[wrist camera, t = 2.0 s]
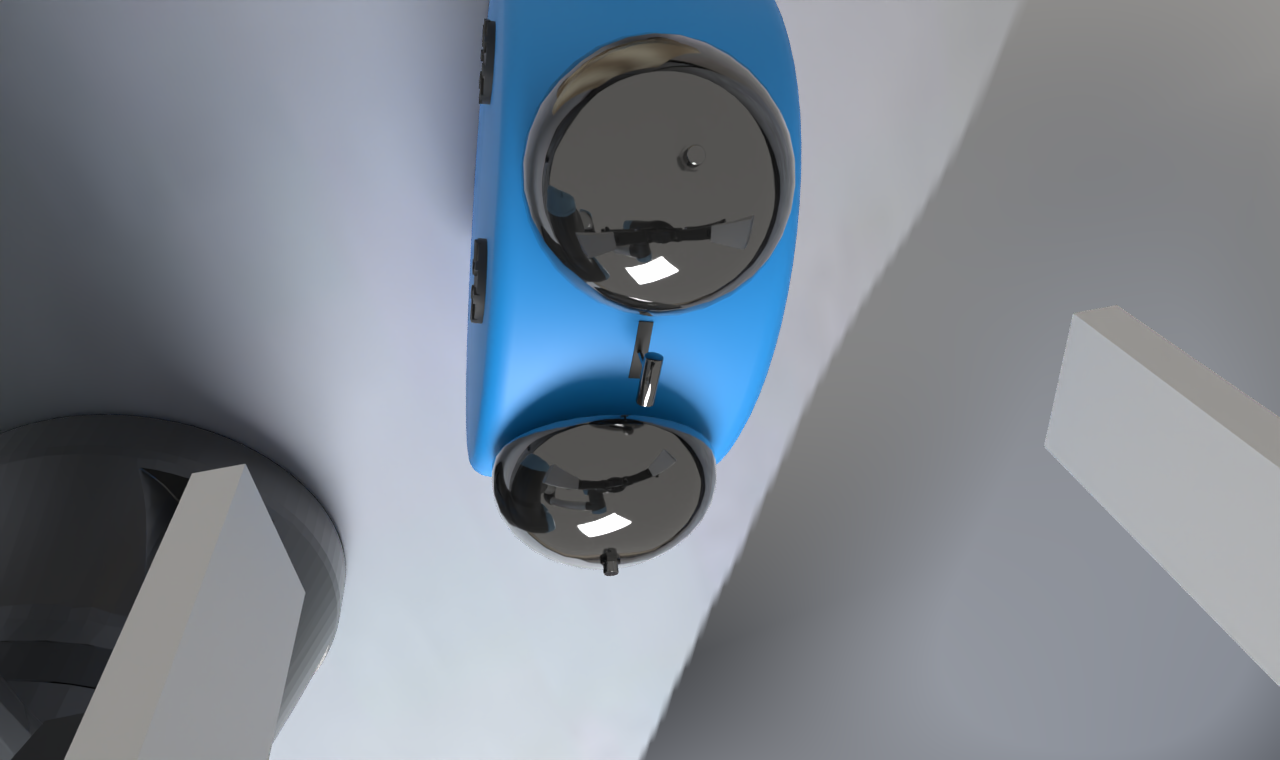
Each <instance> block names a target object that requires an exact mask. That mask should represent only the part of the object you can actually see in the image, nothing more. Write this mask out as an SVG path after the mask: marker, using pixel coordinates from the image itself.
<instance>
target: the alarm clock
mask: <svg viewBox="0 0 1280 760" xmlns="http://www.w3.org/2000/svg"><path fill="white" fill-rule="evenodd" d="M482 47H483V50H481V61H483V63H482V71H481V72H480V80H479V89H480V93H479V104H480V111H479V125H478V139H477V154H476V169H475V185H474V202H473V220H472V239H471V259H470V281H469V305H468V333H467V371H466V431H467V448H468V455H469V461H470V464H471V465H472V467H473V468H474V470H475V471H477V472H478V473H480V474H481V475H485V476H489V477H492V488H493V496H494V502H495V505H496V507H497V509H498V511H499V514H500V516H501V518H502V520H503V521H504V523H505V525H506V526H507V527H508V528H509V530H510V531H511V532H512V533H513V535H514V536H515V537H516V538H517V539H519V540H520V541H521V542H522V543H524V544H525V545H526V546H528V547H529V548H530V549H531V550H533V551H534V552H535V553H538V554H540V555H542V556H544V557H546V558H548V559H551V560H553V561H555V562H557V563H560V564H564V565H568V566H574V567H579V568H584V569H595V570H603V571H604V575H606V576H614V575H617V574H618V573H619V571H618V568H625V567H629V566H634V565H637V564H640V563H643V562H646V561H649V560H652V559H654V558H657V557H659V556H661V555H663V554H665V553H666V552H668V551H669V550H671V549H672V548H674V547H676V546H677V545H679V544H680V543H682V542H683V541H684V540H685V539H686V538H687V537H688V536H689V535H690V534H691V533H692V532H693V531H694V530H695V529H696V528H697V527H698V526H699V524H700V523H701V521H702V519H703V518H704V516H705V514H706V512H707V511H708V509H709V507H710V505H711V503H712V500H713V496H714V493H715V489H716V464H717V463H719V462H720V461H721V460H722V459H723V457H724V456H725V455H726V454H727V453H728V452H729V450H730V449H731V447H732V446H733V444H734V443H735V441H736V440H737V438H738V437H739V435H740V433H741V431H742V430H743V428H744V426H745V424H746V422H747V420H748V418H749V417H750V415H751V413H752V410H753V408H754V406H755V404H756V401H757V399H758V397H759V394H760V392H761V389H762V386H763V384H764V381H765V378H766V376H767V373H768V370H769V366H770V363H771V360H772V357H773V354H774V350H775V347H776V343H777V339H778V335H779V331H780V327H781V324H782V319H783V314H784V310H785V305H786V300H787V296H788V290H789V284H790V278H791V272H792V267H793V259H794V252H795V244H796V236H797V226H798V215H799V204H800V185H801V121H800V106H799V95H798V86H797V79H796V72H795V65H794V61H793V56H792V51H791V47H790V43H789V39H788V35H787V31H786V28H785V25H784V22H783V18H782V16H781V14H780V11H779V9H778V7H777V4H776V2H775V1H774V0H490V1H489V10H488V19H484V25H483V39H482Z"/></svg>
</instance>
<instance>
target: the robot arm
mask: <svg viewBox="0 0 1280 760" xmlns="http://www.w3.org/2000/svg"><path fill="white" fill-rule="evenodd" d="M1044 447H1045V448H1046V449H1047V450H1048V451H1049V452H1050V453H1051V454H1052V455H1053V456H1054V457H1055V458H1056V459H1057V460H1058V461H1059V462H1060V463H1061V464H1062V465H1063V466H1064V467H1065V468H1066V469H1067V471H1068V472H1069V473H1070V474H1071V475H1072V476H1074V478H1075V479H1076V480H1077V481H1078V482H1079V483H1080V484H1081V485H1082V486H1084V488H1085V489H1086V490H1087V491H1088V492H1089V493H1090V494H1091V495H1092V496H1093V497H1094V498H1095V499H1096V500H1097V501H1098V502H1099V503H1100V504H1101V505H1102V506H1103V507H1104V508H1105V509H1106V510H1107V511H1108V512H1109V513H1110V514H1111V515H1112V516H1113V517H1114V518H1115V519H1116V520H1117V522H1118V523H1119V524H1121V526H1122V527H1123V528H1124V529H1125V530H1126V531H1127V532H1128V533H1129V534H1130V535H1131V536H1132V537H1133V538H1134V539H1135V540H1136V541H1137V542H1138V543H1139V544H1140V545H1141V546H1142V547H1143V548H1144V549H1145V550H1146V551H1147V552H1148V553H1149V554H1150V555H1151V556H1152V557H1153V558H1154V559H1155V560H1156V561H1157V562H1158V563H1159V564H1160V565H1161V566H1162V567H1163V568H1164V569H1165V570H1166V571H1167V572H1168V573H1169V574H1170V575H1171V577H1172V578H1173V579H1174V580H1175V581H1176V582H1177V583H1178V584H1179V585H1180V586H1181V587H1182V588H1183V589H1184V590H1185V591H1186V592H1187V593H1188V594H1189V595H1190V596H1191V597H1192V598H1193V599H1194V600H1195V601H1196V602H1197V603H1198V604H1199V605H1200V606H1201V607H1202V608H1203V609H1204V610H1205V611H1206V612H1207V613H1208V614H1209V615H1210V616H1211V617H1212V618H1213V619H1214V620H1215V621H1216V622H1217V623H1218V625H1219V626H1220V627H1221V628H1222V629H1224V631H1225V632H1226V633H1227V634H1228V635H1230V636H1231V638H1232V639H1233V640H1234V641H1235V642H1236V643H1237V644H1238V645H1239V646H1240V647H1241V648H1242V649H1243V650H1244V651H1245V652H1246V653H1247V654H1248V655H1249V656H1250V657H1251V658H1252V659H1253V660H1254V661H1255V662H1256V663H1257V664H1258V665H1259V666H1260V667H1261V668H1262V669H1263V670H1264V671H1265V672H1266V673H1267V675H1269V677H1270V678H1272V680H1273V681H1274V682H1275V683H1276V684H1277V685H1278V686H1279V687H1280V417H1278V416H1277V415H1276V414H1274V413H1273V412H1271V411H1270V410H1268V409H1267V408H1265V407H1264V406H1262V405H1261V404H1260V403H1258V402H1256V401H1255V400H1254V399H1252V398H1251V397H1249V396H1248V395H1246V394H1245V393H1244V392H1242V391H1241V390H1239V389H1238V388H1236V387H1235V386H1233V385H1232V384H1230V383H1229V382H1228V381H1226V380H1225V379H1223V378H1222V377H1220V376H1219V375H1217V374H1216V373H1215V372H1213V371H1212V370H1210V369H1209V368H1207V367H1206V366H1204V365H1203V364H1201V363H1200V362H1199V361H1197V360H1196V359H1194V358H1193V357H1191V356H1190V355H1188V354H1187V353H1185V352H1184V351H1183V350H1181V349H1180V348H1178V347H1177V346H1175V345H1174V344H1172V343H1171V342H1169V341H1168V340H1167V339H1165V338H1164V337H1162V336H1161V335H1159V334H1158V333H1156V332H1155V331H1153V330H1152V329H1151V328H1149V327H1148V326H1146V325H1145V324H1143V323H1142V322H1140V321H1139V320H1137V319H1136V318H1135V317H1133V316H1132V315H1130V314H1129V313H1127V312H1126V311H1124V310H1123V309H1122V308H1120V307H1119V306H1117V305H1115V306H1111V307H1104V308H1099V309H1093V310H1088V311H1083V312H1077V313H1073V316H1072V321H1071V325H1070V330H1069V334H1068V339H1067V344H1066V348H1065V353H1064V358H1063V362H1062V367H1061V371H1060V376H1059V380H1058V385H1057V390H1056V395H1055V399H1054V404H1053V408H1052V413H1051V417H1050V422H1049V426H1048V431H1047V436H1046V441H1045V446H1044ZM345 577H346V567H345V558H344V552H343V548H342V544H341V542H340V539H339V536H338V533H337V531H336V529H335V527H334V525H333V523H332V521H331V520H330V518H329V516H328V514H327V513H326V512H325V510H324V509H323V507H322V506H321V505H320V503H319V502H318V501H317V500H316V499H315V497H314V496H313V495H312V494H311V493H310V492H309V491H308V490H307V489H306V488H305V487H304V486H303V485H302V484H301V483H300V482H299V481H298V480H296V479H295V478H294V477H293V476H292V475H291V474H289V473H288V472H287V471H285V470H284V469H283V468H281V467H280V466H278V465H277V464H275V463H274V462H272V461H271V460H269V459H268V458H266V457H264V456H263V455H261V454H259V453H257V452H256V451H254V450H252V449H250V448H248V447H246V446H244V445H242V444H240V443H237V442H235V441H233V440H230V439H228V438H226V437H223V436H220V435H218V434H215V433H212V432H209V431H206V430H203V429H200V428H196V427H193V426H189V425H185V424H181V423H177V422H172V421H166V420H161V419H155V418H147V417H139V416H127V415H83V416H72V417H64V418H57V419H51V420H46V421H41V422H36V423H32V424H29V425H25V426H22V427H18V428H15V429H13V430H10V431H7V432H4V433H2V434H0V760H269V756H270V751H271V747H272V744H273V742H274V740H275V739H276V737H277V735H278V734H279V732H280V731H281V729H282V727H283V726H284V724H285V722H286V721H287V719H288V718H289V716H290V714H291V713H292V711H293V709H294V708H295V706H296V704H297V702H298V701H299V699H300V697H301V696H302V694H303V692H304V690H305V689H306V687H307V685H308V683H309V681H310V680H311V678H312V676H313V675H314V673H315V672H316V671H317V670H318V668H319V667H320V666H321V664H322V663H323V661H324V659H325V657H326V655H327V653H328V652H329V649H330V647H331V645H332V642H333V640H334V637H335V634H336V631H337V627H338V623H339V617H340V611H341V605H342V599H343V593H344V587H345Z"/></svg>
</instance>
